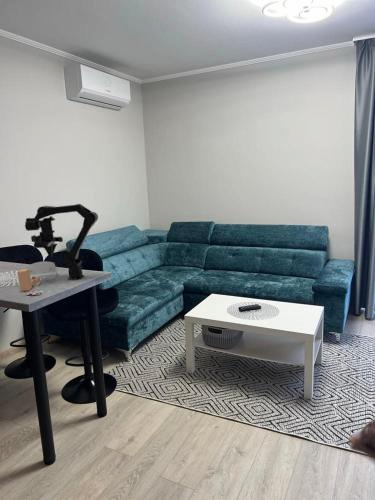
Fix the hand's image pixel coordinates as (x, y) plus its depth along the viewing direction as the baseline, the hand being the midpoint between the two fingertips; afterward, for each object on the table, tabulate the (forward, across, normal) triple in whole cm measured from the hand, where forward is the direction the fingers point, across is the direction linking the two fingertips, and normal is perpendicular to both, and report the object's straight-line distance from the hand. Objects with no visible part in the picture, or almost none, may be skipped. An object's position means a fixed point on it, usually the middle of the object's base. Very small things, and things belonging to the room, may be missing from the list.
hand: (50, 257), depth 201 cm
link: (+12, +14, -5) cm, 19 cm away
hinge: (+13, -5, -11) cm, 18 cm away
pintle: (+12, +10, -6) cm, 17 cm away
